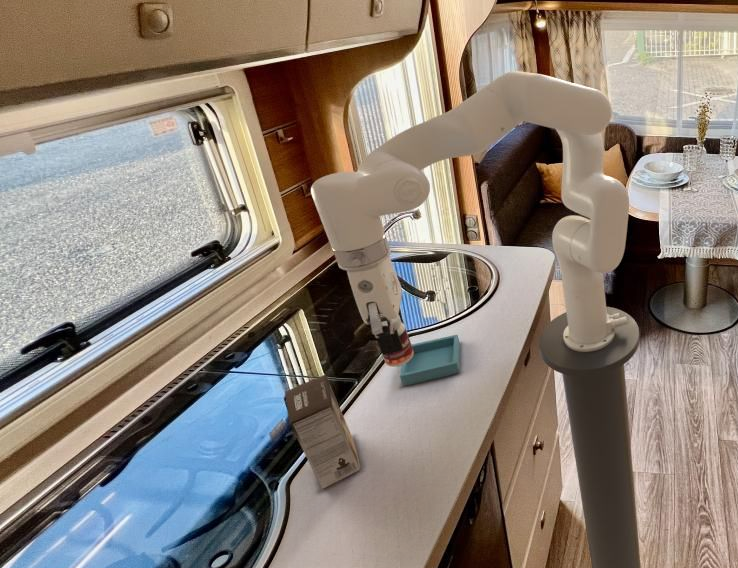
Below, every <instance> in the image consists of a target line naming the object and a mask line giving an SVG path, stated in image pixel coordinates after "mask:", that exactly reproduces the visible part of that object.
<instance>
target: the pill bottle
mask: <svg viewBox="0 0 738 568" xmlns="http://www.w3.org/2000/svg"><path fill="white" fill-rule="evenodd" d="M381 315H382V316H384V315H383V314H381ZM382 316H380V317H382ZM392 322H393V326H394V330H397V332H398V335H399V338H400V340H401V343H402V346H403V349H402V351H399V352H394V353H390V354H386V355H383V354H382V353H381V355H382V358H383V361H384V363H385V364H386V365H387V366H388V367H392V368H393V367H395V368H396V367H400V366H402V365H403V364H405V363H407V362H408V361H409V360H410V359H411V358H412V357H413V354H414V352H413V348H412V342H411V339H410V337H409V334H408V331H407V326H406V325H405V323H404V324H403V323H402V322H401V319H400V316H399V315H398V316H397V317H396V318H395V319H392ZM381 323H382V325H383V326H388V324H387V321H384V322H381Z"/></svg>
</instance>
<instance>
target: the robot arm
mask: <svg viewBox="0 0 738 568" xmlns="http://www.w3.org/2000/svg"><path fill="white" fill-rule="evenodd" d="M612 115H613V108H612V104H611V102H610V99H609V98H608V96H607V95H606V94H605V93H604V92H602V91H601V90H599V89H596V88H593V87H589V86H585V85H581V84H578V83H573V82H570V81H566V80H563V79H560V78H556V77H553V76H549V75H545V74H541V73H535V72H528V71H521V70H512V71H508V72H505V73H503V74H501V75H499V76H498V77H497V78H495V79H494V80H492V81H491V82H489V83H488V84H487V85H485V86H484V87H482V88H481V89H480V90H478V91H477V92H475V93H473V94H472V95H471V96H469V97H468V98H467V99H465V100H464V101H462V102H461V103H459V104H458V105H456V106H454V107H453V108H452V109H450V110H448V111H446V112H444V113H442V114H439V115H436V116H434V117H432V118H430V119H428V120H426V121H423V122H420V123H418V124H416V125H414V126H411V127H409V128H407V129H405V130H403V131H401V132H398V133H397V134H396V135H394V136H393V137H392V138H390V139H388V140H387V141H385V142H384V143H382V144H381V145H379V146H378V147H376V148H375V149H373V150H372V151H371V152H370V153H368V155H366V156H365V157H364V158H363V159H362V160H361V162H359V163H360V164H359V165H358V168H357V171H339V172H334V173H330V174H327V175H324V176H322V177H319V178H318V179H316V180H315V181H314V182H313V183H312V185H311V187H310V194H311V197H312V199H313V203H314V205H315V208H316V211H317V213H318V216H319V219H320V221H321V224H322V227H323V229H324V232H325V233H326V237H327V239H328V242H329V244H330V248H331V249H332V252H333V254H334V258H335V260H336V263H337V265H338V268H339V269H341V270H343V271H346V273H347V277H348V280H349V284H350V287H351V291H352V295H353V298H354V301H355V304H356V306H357V309H358V312H359V314H360V316H361V319H362V320H363V323H364V324H366V325H370V329H371V334H372V335H374V337H375V339H376V341H377V344H378V347H379V350H380V351H381V355H382V354H383V355H386V354H390V353H394V352H399V351H402V349H403V346H402V343H401V340H400V338H399V335H398V332H397V330H394V326H393V322H392V319H395V318H396V317H397V316H398V315H399V316H400V319H401V322H402V323H403V324H404V325H405V322H404V319H403V317H402V313H401V310H400V308H401V303H402V295H403V289H402V285H401V282H400V279H399V277H398V275H397V272H396V270H395V266H394V265H393V262H392V259H391V256H390V255H391V254H392V251H391V248H390V245H389V242H388V239H387V235H386V233H385V229H384V226H383V223H382V221H381V217H382V216H387V215H393V214H399V213H400V214H401V213H405V212H409V211H412V210H415V209H417V208H419V207H420V206H421V205H423V204H424V203H425V202H426V201H427V199H428V197H429V196H430V191H431V185H430V181H429V179H428V177H427V175H426V174H425V173H424V172H423V170H424V169H427V167H429V166H431V165H433V164H436V163H438V162H442V161H444V160H448V159H454V158H463V157H465V158H466V157H471V156H474V155H478V154H481V153H483V152H485V151H487V150H488V149H489V148H490V147H491V146H493V145H494V144H496V143H497V142H498V141H499V140H500V139H502V138H503V137H505V136H506V135H507V134H508V133H510V132H511V131H512V130H514V129H515V128H516V127H517V126H519V125H520V124H522V123H524V122H526V123H529V124H533V125H537V126H541V127H546V128H550V129H553V130H555V131H556V132H557V134H558V136H559V138H560V140H561V145H562V169H561V170H562V172H561V192H560V193H561V194H560V197H561V201H562V203H563V205H564V206H565V207H566V209H569V210H570V211H573V212H574V213H577V214H579V215H576V214H575V215H567V216H564V217H562V218H560V219H559V220H558V221H557V222H556V223H555V225H554V227H553V230H552V233H551V234H552V235H551V241H552V248H553V251H554V254H555V257H556V260H557V262H558V266H559V270H560V275H561V276H560V277H561V283H562V289H563V298H564V304H565V312H566V313H567V320H568V326H567V327H566V328H565V330H564V333H563V338H564V342H565V344H566V345H567V346H568V347H569V348H571V349H573V350H575V351H580V352H591V351H596V350H599V349H601V348H604V347H605V346H607V345H608V344H609V343H610V342H611V341H612V340H613V338H614V336H615V327H616V326H622V325H626V324H627V319H626V317H622V318H620V317H619V313H617V314H613V315H607V310H606V307H607V303H606V302H607V299H606V291H605V283H604V282H605V280H604V279H605V278H604V274H608V273H610V272H613V271H614V270H616V268H618V266H619V265H620V263H621V262H622V259H623V257H624V255H625V254H624V253H625V250H626V242H627V233H628V224H629V223H628V222H629V215H630V214H629V212H630V197H629V192H628V191H627V188H626V186H625V185H624V184H623V183H622V182H621V181H620V180H618V179H616V178H614V177H612V176H609V175H606V174H605V173H604V153H605V152H604V140H603V136H602V134H601V132H603V131H604V130H605V129H606V128H607V127H608V126H609V125H610V122H611V120H612ZM580 215H581V216H580ZM382 315H384V316H382ZM380 316H382V317H380ZM384 321H387V324H388V326H383V325H382V323H381V322H384ZM383 355H382V356H383Z"/></svg>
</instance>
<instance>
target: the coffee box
mask: <svg viewBox="0 0 738 568" xmlns="http://www.w3.org/2000/svg"><path fill="white" fill-rule="evenodd" d="M284 394H285V400H286V409H287V415H288V423H289V425H290V427H291V429H292V431H293V433H294V435H295V437H296V439H297V442H298V443H299V445H300V448H301V449H302V451H303V453H304V455H305V457H306V459H307V462H308V463H309V466H310V468H311V469H312V471H313V473H314V475H315V477H316V479H317V481H318V483H319V485H320V487H321V489H326V488H327V487H329V486H331V485H333V484H335V483H337V482H339V481H341V480H343V479H345V478H347V477H349V476H351V475H353V474H355V473H356V472H358V471H360V470H361V464H360V460H359V455H358V452H357V449H356V443H355V441H354V438H353V435H352V433H351V430H350V428H349V426H348V424H347V421H346V419H345V417H344V414H343V412H342V410H341V407H340V405H339V403H338V401H337V398H336V396H335V393H334V390H333V389H332V386H331V383H330V382H329V379H328V376H327V374H323V375H321V376H319V377H316V378H313V379H311V380H308V381H306V382H304V383H301V384H299V385H297V386H295V387H293V388H290V389H288V390H286V391H285V392H284Z"/></svg>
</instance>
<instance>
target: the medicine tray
mask: <svg viewBox="0 0 738 568" xmlns="http://www.w3.org/2000/svg"><path fill="white" fill-rule="evenodd" d="M411 345H412V348H413V352H414V354H413V357H412V358H411V359H410V360H409V361H408V362H407V363H405V364H403V365H401V368H400V369H401V370H400V375H399V378H400V381H401V384H402V386H403V387H406V386H410V385H413V384H418V383H423V382H426V381H432V380H436V379H439V378H443V377H447V376H452V375H456V374H459V373H460V361H461V359H460V358H461V357H460V356H461V353H460V352H461V343H460V338H459V335H458V334H454V335H449V336H445V337H440V338H439V337H438V338H435V339H430V340H427V341H426V340H425V341H422V342H417V343H413V344H412V343H411Z"/></svg>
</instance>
